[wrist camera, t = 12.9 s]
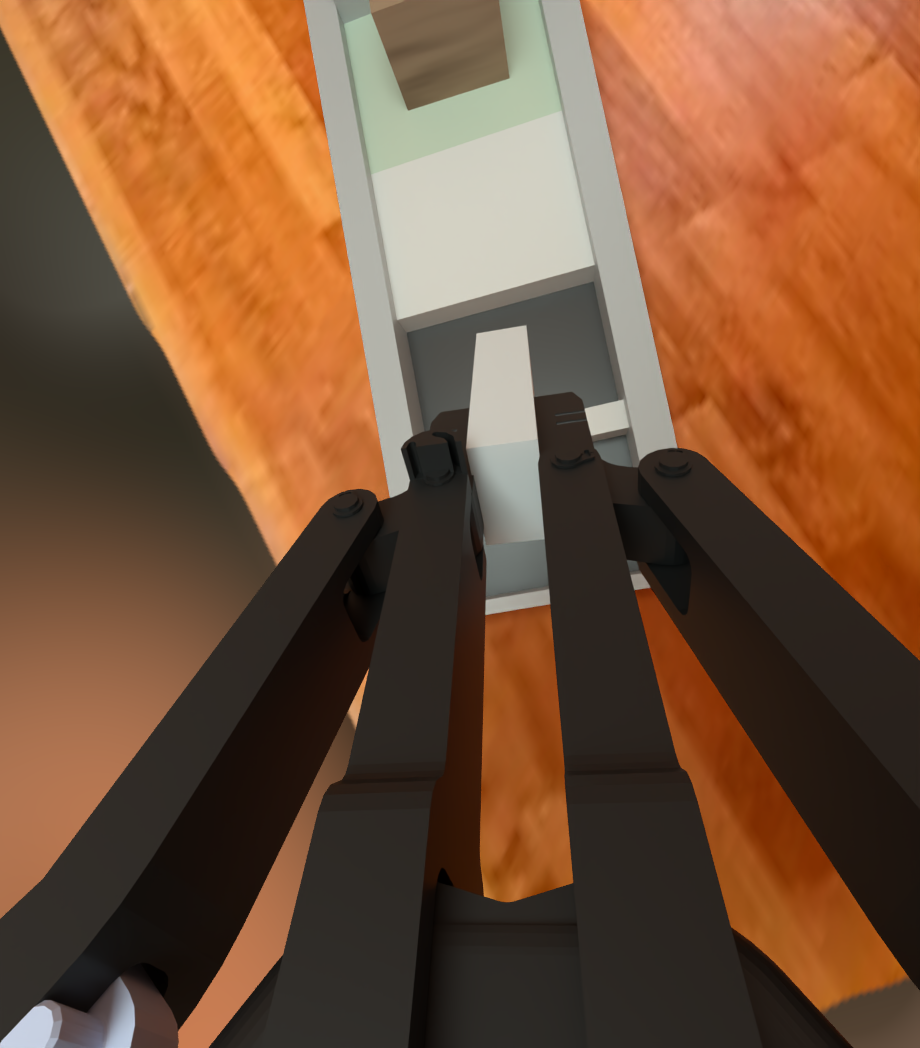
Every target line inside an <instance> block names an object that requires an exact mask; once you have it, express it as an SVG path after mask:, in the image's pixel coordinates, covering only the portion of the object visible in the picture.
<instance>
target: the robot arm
mask: <svg viewBox="0 0 920 1048" xmlns="http://www.w3.org/2000/svg"><path fill="white" fill-rule="evenodd" d="M401 452H402V456H403V459H404V462H405V466H406V469H407V472H408V476H409V479H410V482H409V487H408V490H407V491H405V492H403V493H401V494H399V495H396V496H394V497H391V498H388V499H385V500H382V501H379V502H378V501H377V498H376V495H375V494H374V493H372V492H371V491H369V490H363V489H355V490H348V491H345V492H341V493H339V494H337V495H335V496H334V497H332V498H330V499H329V500H328V501H327V502H326V503H325V504H324V505H323V506H322V507H321V508H320V509H319V511H318V512H317V513H316V515H315V516H314V517H313V519H312V520H311V521H310V523H309V524H308V525H307V527H306V528H305V529H304V531H303V532H302V533H301V535H300V536H299V537H298V539H297V540H296V541H295V543H294V544H293V545H292V547H291V548H290V549H289V551H288V552H287V553H286V555H285V556H284V557H283V559H282V560H281V561H280V563H279V564H278V565H277V567H276V568H275V570H274V571H273V572H272V573H271V575H270V576H269V577H268V579H267V580H266V581H265V583H264V584H263V586H262V587H261V588H260V590H259V591H258V592H257V594H256V595H255V596H254V598H253V599H252V600H251V602H250V603H249V604H248V606H247V607H246V608H245V610H244V611H243V612H242V614H241V615H240V616H239V618H238V619H237V620H236V622H235V623H234V624H233V626H232V627H231V628H230V630H229V631H228V632H227V634H226V635H225V636H224V638H223V639H222V640H221V642H220V643H219V644H218V646H217V647H216V648H215V650H214V651H213V652H212V654H211V655H210V657H209V658H208V659H207V660H206V662H205V663H204V664H203V666H202V667H201V668H200V670H199V671H198V672H197V674H196V675H195V676H194V678H193V679H192V680H191V682H190V683H189V684H188V686H187V687H186V689H185V690H184V691H183V692H182V694H181V695H180V697H179V698H178V699H177V700H176V702H175V703H174V704H173V706H172V707H171V708H170V710H169V711H168V712H167V714H166V715H165V716H164V718H163V719H162V720H161V722H160V723H159V724H158V726H157V727H156V728H155V730H154V731H153V732H152V734H151V735H150V736H149V738H148V739H147V741H146V742H145V743H144V745H143V746H142V747H141V749H140V750H139V751H138V753H137V754H136V755H135V757H134V758H133V759H132V761H131V762H130V763H129V765H128V766H127V767H126V769H125V770H124V771H123V773H122V774H121V775H120V777H119V778H118V779H117V781H116V782H115V783H114V785H113V786H112V787H111V789H110V790H109V792H108V793H107V794H106V795H105V797H104V798H103V799H102V801H101V802H100V803H99V805H98V806H97V807H96V809H95V810H94V811H93V813H92V814H91V815H90V817H89V818H88V819H87V821H86V822H85V823H84V825H83V826H82V827H81V829H80V830H79V832H78V833H77V834H76V835H75V837H74V838H73V839H72V841H71V842H70V843H69V845H68V846H67V847H66V849H65V850H64V851H63V853H62V854H61V855H60V857H59V858H58V860H57V861H56V862H55V863H54V865H53V866H52V868H51V869H50V870H49V872H48V873H47V874H46V875H45V877H44V878H43V879H42V880H41V881H40V882H39V883H38V884H37V885H36V886H35V887H34V888H33V889H32V890H31V891H30V892H28V893H27V894H26V896H24V897H23V898H22V899H21V900H20V901H19V902H18V903H17V904H16V905H15V906H14V907H13V908H11V909H10V910H9V911H8V912H7V913H6V914H5V915H4V916H3V917H2V918H1V919H0V1048H178V1042H179V1041H178V1030H179V1029H180V1027H181V1026H182V1025H183V1024H184V1022H185V1021H186V1020H187V1018H188V1017H189V1016H190V1014H191V1013H192V1011H193V1010H194V1009H195V1007H196V1006H197V1004H198V1003H199V1001H200V999H201V998H202V996H203V995H204V993H205V992H206V990H207V988H208V987H209V985H210V984H211V982H212V980H213V979H214V977H215V976H216V974H217V973H218V971H219V970H220V968H221V966H222V965H223V963H224V961H225V959H226V957H227V955H228V953H229V951H230V950H231V948H232V946H233V944H234V942H235V940H236V938H237V936H238V935H239V933H240V931H241V929H242V927H243V925H244V923H245V921H246V919H247V917H248V915H249V913H250V911H251V909H252V906H253V905H254V903H255V901H256V899H257V896H258V894H259V892H260V890H261V888H262V886H263V884H264V882H265V880H266V878H267V876H268V874H269V872H270V870H271V868H272V866H273V864H274V862H275V860H276V857H277V855H278V853H279V851H280V849H281V847H282V845H283V843H284V841H285V839H286V837H287V835H288V833H289V831H290V829H291V827H292V825H293V822H294V820H295V818H296V816H297V814H298V812H299V810H300V808H301V806H302V804H303V802H304V800H305V798H306V796H307V794H308V792H309V790H310V788H311V786H312V784H313V781H314V779H315V777H316V775H317V773H318V771H319V769H320V767H321V765H322V763H323V761H324V759H325V757H326V755H327V753H328V751H329V749H330V746H331V744H332V742H333V740H334V738H335V736H336V734H337V732H338V730H339V728H340V726H341V724H342V722H343V720H344V718H345V716H346V714H347V712H348V710H349V708H350V706H351V704H352V701H353V699H354V697H355V695H356V693H357V691H358V689H359V687H360V685H361V683H362V681H363V679H364V677H365V675H366V673H367V671H368V669H369V672H368V676H367V681H366V685H365V690H364V695H363V699H362V704H361V709H360V713H359V718H358V722H357V727H356V732H355V736H354V741H353V746H352V750H351V755H350V759H349V764H348V768H347V771H346V774H345V776H344V777H343V779H342V780H341V781H338V782H336V783H334V784H331V785H330V786H329V788H328V789H327V791H326V792H325V794H324V796H323V799H322V802H321V805H320V807H319V811H318V814H317V818H316V822H315V826H314V830H313V835H312V839H311V843H310V847H309V851H308V855H307V859H306V863H305V868H304V872H303V876H302V880H301V884H300V888H299V892H298V896H297V900H296V905H295V908H294V913H293V917H292V921H291V925H290V929H289V934H288V938H287V941H286V945H285V950H284V954H283V956H282V957H281V958H280V959H279V960H278V961H277V963H276V964H275V965H274V966H273V968H272V969H271V970H270V971H269V973H268V974H267V975H266V976H265V977H264V979H263V980H262V981H261V983H260V984H259V985H258V986H257V988H256V989H255V990H254V991H253V993H252V994H251V995H250V996H249V998H248V999H247V1000H246V1001H245V1003H244V1004H243V1005H242V1006H241V1008H240V1009H239V1010H238V1011H237V1013H236V1014H235V1015H234V1016H233V1018H232V1019H231V1020H230V1021H229V1023H228V1024H227V1025H226V1026H225V1028H224V1029H223V1030H222V1031H221V1033H220V1034H219V1035H218V1036H217V1038H216V1039H215V1040H214V1041H213V1043H212V1044H211V1045H210V1047H209V1048H853V1047H852V1046H851V1045H850V1044H849V1043H848V1041H847V1040H846V1039H845V1038H844V1037H843V1036H842V1035H841V1034H840V1033H839V1032H838V1031H837V1030H836V1028H835V1027H834V1026H833V1025H832V1024H831V1023H830V1022H829V1021H828V1020H827V1019H826V1018H825V1016H824V1015H823V1014H822V1013H821V1012H820V1011H819V1010H818V1009H817V1008H816V1007H815V1006H814V1005H813V1003H812V1002H811V1001H810V1000H809V999H808V998H807V997H806V996H805V995H804V994H803V993H802V991H801V990H800V989H799V988H798V987H797V986H796V985H795V984H794V983H793V982H792V981H791V980H790V978H789V977H788V976H787V975H786V974H785V973H784V972H783V971H782V970H781V969H780V968H779V967H778V966H777V965H776V964H775V963H774V962H773V961H772V960H771V959H770V958H769V957H768V956H767V955H765V954H764V953H763V952H762V951H761V950H760V949H759V948H758V947H756V946H755V945H754V944H753V943H752V942H751V941H749V940H748V939H747V938H745V937H744V936H742V935H741V934H740V933H738V932H737V931H736V930H734V929H733V928H731V926H730V922H729V919H728V915H727V911H726V907H725V903H724V900H723V896H722V892H721V888H720V885H719V881H718V877H717V873H716V870H715V866H714V862H713V858H712V855H711V851H710V847H709V843H708V839H707V836H706V832H705V828H704V824H703V821H702V817H701V813H700V809H699V806H698V802H697V798H696V795H695V792H694V789H693V785H692V782H691V780H690V778H689V776H688V774H687V772H686V771H685V770H684V769H682V768H681V767H680V765H679V763H678V760H677V756H676V753H675V749H674V745H673V741H672V737H671V733H670V729H669V726H668V722H667V718H666V714H665V710H664V706H663V702H662V698H661V694H660V690H659V686H658V682H657V678H656V674H655V670H654V666H653V662H652V658H651V654H650V650H649V646H648V642H647V638H646V634H645V630H644V626H643V622H642V618H641V614H640V611H639V607H638V603H637V599H636V595H635V591H634V587H633V583H632V579H631V575H630V571H629V567H628V563H627V560H631V561H637V564H638V567H639V570H640V572H641V573H642V575H643V576H644V578H645V579H646V581H647V582H648V584H649V585H650V587H651V588H652V590H653V591H654V593H655V595H656V596H657V598H658V599H659V601H660V602H661V604H662V605H663V607H664V608H665V610H666V611H667V613H668V614H669V616H670V617H671V619H672V620H673V622H674V623H675V625H676V627H677V628H678V630H679V631H680V633H681V634H682V636H683V637H684V639H685V640H686V642H687V643H688V645H689V646H690V648H691V649H692V651H693V652H694V654H695V655H696V657H697V659H698V660H699V662H700V663H701V665H702V666H703V668H704V669H705V671H706V672H707V674H708V675H709V677H710V678H711V680H712V681H713V683H714V684H715V686H716V687H717V689H718V691H719V692H720V694H721V695H722V697H723V698H724V700H725V701H726V703H727V704H728V706H729V707H730V709H731V710H732V712H733V713H734V715H735V716H736V718H737V720H738V721H739V723H740V724H741V726H742V727H743V729H744V730H745V732H746V733H747V735H748V736H749V738H750V739H751V741H752V742H753V744H754V745H755V747H756V748H757V750H758V752H759V753H760V755H761V756H762V758H763V759H764V761H765V762H766V764H767V765H768V767H769V768H770V770H771V771H772V773H773V774H774V776H775V777H776V779H777V780H778V782H779V784H780V785H781V787H782V788H783V790H784V791H785V793H786V794H787V796H788V797H789V799H790V800H791V802H792V803H793V805H794V806H795V808H796V809H797V811H798V812H799V814H800V816H801V817H802V819H803V820H804V822H805V823H806V825H807V826H808V828H809V829H810V831H811V832H812V834H813V835H814V837H815V838H816V840H817V841H818V843H819V844H820V846H821V848H822V849H823V851H824V852H825V854H826V855H827V857H828V858H829V860H830V861H831V863H832V864H833V866H834V867H835V869H836V870H837V872H838V873H839V875H840V876H841V878H842V880H843V881H844V883H845V884H846V886H847V887H848V889H849V890H850V892H851V893H852V895H853V896H854V898H855V899H856V901H857V902H858V904H859V905H860V907H861V908H862V910H863V912H864V913H865V915H866V916H867V918H868V919H869V921H870V922H871V924H872V925H873V927H874V928H875V930H876V931H877V933H878V934H879V936H880V937H881V938H882V940H883V941H884V943H885V944H886V945H887V947H888V948H889V950H890V951H891V952H892V954H893V955H894V957H895V958H896V959H897V961H898V962H899V964H900V965H901V966H902V968H903V969H904V971H905V972H906V973H907V975H908V976H909V978H910V979H911V980H912V982H913V983H914V984H915V985H916V986H917V987H918V989H919V990H920V661H919V660H918V659H917V658H916V657H915V656H914V655H913V654H912V653H911V652H910V651H909V650H908V649H907V648H906V647H905V646H904V645H903V644H901V643H900V642H899V641H898V640H897V639H896V638H895V637H894V636H893V635H892V634H891V633H890V632H889V631H888V630H887V629H886V628H885V627H883V626H882V625H881V624H880V623H879V622H878V621H877V620H876V619H875V618H874V617H873V616H872V615H871V614H870V613H869V612H868V611H867V610H866V609H864V608H863V607H862V606H861V605H860V604H859V603H858V602H857V601H856V600H855V599H854V598H853V597H852V596H851V595H850V594H849V593H848V592H847V591H845V590H844V589H843V588H842V587H841V586H840V585H839V584H838V583H837V582H836V581H835V580H834V579H833V578H832V577H831V576H830V575H829V574H828V573H826V572H825V571H824V570H823V569H822V568H821V567H820V566H819V565H818V564H817V563H816V562H815V561H814V560H813V559H812V558H811V557H810V556H809V555H807V554H806V553H805V552H804V551H803V550H802V549H801V548H800V547H799V546H798V545H797V544H796V543H795V542H794V541H793V540H792V539H791V538H790V537H788V536H787V535H786V534H785V533H784V532H783V531H782V530H781V529H780V528H779V527H778V526H777V525H776V524H775V523H774V522H773V521H772V520H770V519H769V518H768V517H767V516H766V515H765V514H764V513H763V512H762V511H761V510H760V509H759V508H758V507H757V506H756V505H755V504H754V503H753V502H751V501H750V500H749V499H748V498H747V497H746V496H745V495H744V494H743V493H742V492H741V491H740V490H739V489H738V488H737V487H736V486H735V485H734V484H732V483H731V482H730V481H729V480H728V479H727V478H726V477H725V476H724V475H723V474H722V473H721V472H720V471H719V470H718V469H717V468H716V467H715V466H713V465H712V464H711V463H710V462H709V461H708V460H707V459H706V458H705V457H703V456H702V455H700V454H699V453H697V452H694V451H691V450H687V449H682V448H667V449H660V450H656V451H654V452H651V453H649V454H647V455H646V456H645V457H643V458H642V459H641V460H640V463H639V466H638V467H626V466H618V465H614V464H611V463H608V462H606V461H604V460H602V459H601V456H600V454H599V453H598V451H597V450H596V449H594V445H593V441H592V437H591V433H590V429H589V425H588V421H587V417H586V413H585V409H584V404H583V400H582V399H581V398H580V397H578V396H577V395H576V394H574V393H573V392H565V393H558V394H552V395H545V396H538V397H534V389H533V380H532V371H531V362H530V354H529V345H528V336H527V327H526V325H525V326H519V327H513V328H507V329H501V330H495V331H489V332H483V333H477V334H476V345H475V356H474V367H473V378H472V389H471V399H470V408H465V409H459V410H452V411H445V412H440V413H439V414H438V415H437V417H436V418H435V419H434V420H433V421H432V422H431V426H430V430H428V431H424V432H421V433H419V434H417V435H414V436H412V437H411V438H410V439H408V440H407V441H406V442H404V444H403V446H402V447H401ZM484 536H485V541H486V545H493V544H503V543H513V542H522V541H532V540H541V539H545V550H546V561H547V572H548V584H549V595H550V606H551V617H552V629H553V640H554V651H555V663H556V674H557V685H558V696H559V708H560V719H561V730H562V741H563V753H564V765H565V789H566V802H567V813H568V825H569V837H570V848H571V860H572V871H573V883H572V884H569V885H566V886H563V887H560V888H556V889H553V890H550V891H547V892H544V893H540V894H537V895H534V896H531V897H528V898H524V899H521V900H518V901H514V902H500V901H496V900H493V899H490V898H487V897H484V893H483V882H482V874H481V866H480V812H481V771H482V731H483V690H484V650H485V609H486V568H487V559H486V554H485V550H484V545H483V538H484Z"/></svg>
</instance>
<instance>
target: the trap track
mask: <svg viewBox="0 0 920 1048" xmlns="http://www.w3.org/2000/svg"><path fill="white" fill-rule="evenodd" d="M499 5H500V12H501V20H502V27H503V34H504V41H505V49H506V56H507V63H508V71H509V79H506V80H503V81H500V82H497V83H494V84H490V85H487V86H484V87H481V88H478V89H475V90H472V91H469V92H465V93H462V94H459V95H456V96H453V97H450V98H447V99H443V100H440V101H437V102H434V103H431V104H428V105H425V106H422V107H418V108H415V109H412V110H409V111H408V109H407V107H406V104H405V102H404V99H403V96H402V94H401V91H400V88H399V86H398V83H397V80H396V78H395V75H394V73H393V70H392V67H391V65H390V62H389V59H388V57H387V54H386V51H385V49H384V46H383V43H382V41H381V38H380V36H379V33H378V30H377V28H376V25H375V22H374V20H373V17H372V14H371V10H370V3H369V0H304V6H305V11H306V17H307V23H308V29H309V35H310V40H311V46H312V52H313V58H314V63H315V69H316V75H317V81H318V86H319V92H320V98H321V104H322V109H323V115H324V121H325V127H326V132H327V138H328V144H329V150H330V155H331V161H332V167H333V173H334V178H335V184H336V190H337V196H338V201H339V207H340V213H341V219H342V224H343V230H344V236H345V242H346V247H347V253H348V259H349V265H350V270H351V276H352V282H353V288H354V293H355V299H356V305H357V311H358V316H359V322H360V328H361V334H362V339H363V345H364V351H365V357H366V362H367V368H368V374H369V380H370V386H371V391H372V397H373V403H374V409H375V414H376V420H377V426H378V432H379V437H380V443H381V449H382V455H383V460H384V466H385V472H386V478H387V483H388V489H389V495H390V498H391V497H394V496H396V495H399V494H401V493H403V492H405V491H407V490H408V487H409V482H410V479H409V476H408V472H407V469H406V466H405V462H404V459H403V456H402V452H401V447H402V446H403V444H404V442H406V441H407V440H408V439H410V438H411V437H412V436H414V435H417V434H419V433H421V432H424V431H428V430H430V426H431V422H432V421H433V420H434V419H435V418H436V417H437V415H438V414H439V413H440V412H445V411H452V410H459V409H465V408H470V399H471V389H472V378H473V367H474V356H475V345H476V334H477V333H483V332H489V331H495V330H501V329H507V328H513V327H519V326H525V325H526V327H527V336H528V345H529V354H530V362H531V371H532V380H533V389H534V397H538V396H545V395H552V394H558V393H565V392H573V393H574V394H576V395H577V396H578V397H580V398H581V399H582V400H583V404H584V409H585V413H586V417H587V421H588V425H589V429H590V433H591V437H592V441H593V445H594V449H596V450H597V451H598V453H599V454H600V456H601V459H602V460H604V461H606V462H608V463H611V464H614V465H618V466H626V467H638V466H639V463H640V460H641V459H642V458H643V457H645V456H646V455H647V454H649V453H651V452H654V451H656V450H660V449H667V448H677V443H676V439H675V434H674V430H673V425H672V420H671V416H670V411H669V407H668V402H667V398H666V393H665V389H664V384H663V379H662V375H661V370H660V366H659V361H658V357H657V352H656V348H655V343H654V338H653V334H652V329H651V325H650V320H649V316H648V311H647V306H646V302H645V297H644V293H643V288H642V284H641V279H640V275H639V270H638V265H637V261H636V256H635V252H634V247H633V243H632V238H631V234H630V229H629V224H628V220H627V215H626V211H625V206H624V202H623V197H622V193H621V188H620V183H619V179H618V174H617V170H616V165H615V161H614V156H613V151H612V147H611V142H610V138H609V133H608V129H607V124H606V120H605V115H604V110H603V106H602V101H601V97H600V92H599V88H598V83H597V79H596V74H595V69H594V65H593V60H592V56H591V51H590V47H589V42H588V37H587V33H586V28H585V24H584V19H583V15H582V10H581V6H580V1H579V0H499ZM483 545H484V550H485V554H486V559H487V568H486V609H485V615H488V614H494V613H500V612H506V611H512V610H518V609H524V608H530V607H536V606H542V605H548V604H550V595H549V584H548V572H547V561H546V550H545V539H541V540H532V541H522V542H513V543H503V544H493V545H486V541H485V536H484V538H483ZM627 563H628V567H629V571H630V575H631V579H632V583H633V587H634V590H638V589H644V588H650V585H649V584H648V582H647V581H646V579H645V578H644V576H643V575H642V573H641V572H640V570H639V567H638V564H637V561H631V560H627Z"/></svg>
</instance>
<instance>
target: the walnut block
mask: <svg viewBox="0 0 920 1048" xmlns="http://www.w3.org/2000/svg"><path fill="white" fill-rule="evenodd" d="M369 3H370V10H371V14H372V17H373V20H374V22H375V25H376V28H377V30H378V33H379V36H380V38H381V41H382V43H383V46H384V49H385V51H386V54H387V57H388V59H389V62H390V65H391V67H392V70H393V73H394V75H395V78H396V80H397V83H398V86H399V88H400V91H401V94H402V96H403V99H404V102H405V104H406V107H407V109H408V111H409V110H412V109H415V108H418V107H422V106H425V105H428V104H431V103H434V102H437V101H440V100H443V99H447V98H450V97H453V96H456V95H459V94H462V93H465V92H469V91H472V90H475V89H478V88H481V87H484V86H487V85H490V84H494V83H497V82H500V81H503V80H506V79H509V71H508V63H507V56H506V49H505V41H504V34H503V27H502V20H501V12H500V5H499V0H369Z"/></svg>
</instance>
